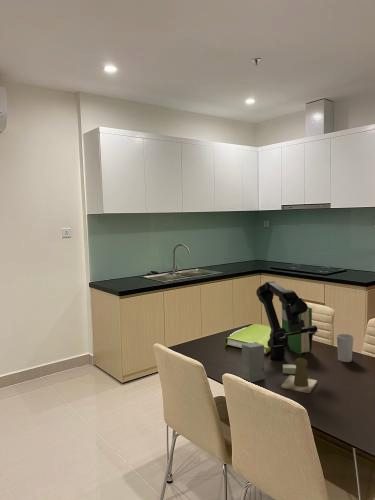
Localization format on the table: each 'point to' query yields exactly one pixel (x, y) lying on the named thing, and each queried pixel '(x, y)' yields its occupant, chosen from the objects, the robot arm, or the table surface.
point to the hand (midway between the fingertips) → (300, 351)
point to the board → (290, 385)
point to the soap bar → (289, 369)
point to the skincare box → (253, 362)
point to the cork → (301, 373)
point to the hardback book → (299, 341)
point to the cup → (345, 347)
